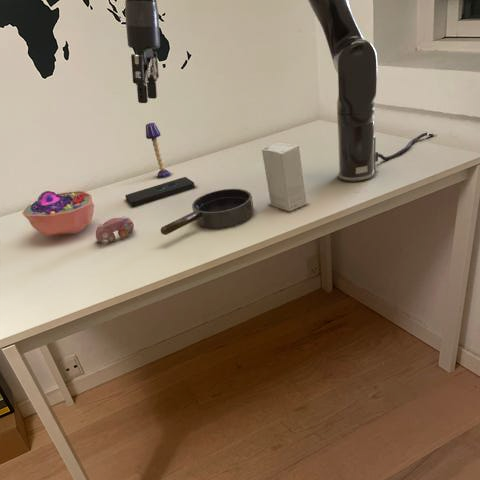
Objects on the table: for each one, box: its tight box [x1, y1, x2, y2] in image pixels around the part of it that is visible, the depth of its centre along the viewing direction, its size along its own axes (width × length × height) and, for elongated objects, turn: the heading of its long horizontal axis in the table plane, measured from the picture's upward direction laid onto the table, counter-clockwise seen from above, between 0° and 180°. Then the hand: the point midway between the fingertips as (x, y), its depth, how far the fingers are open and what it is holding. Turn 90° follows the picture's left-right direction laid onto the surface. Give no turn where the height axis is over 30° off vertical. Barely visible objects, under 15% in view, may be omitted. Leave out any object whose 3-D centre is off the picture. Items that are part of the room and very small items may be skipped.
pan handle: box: [160, 211, 202, 236], centre depth 114 cm, size 12×2×2 cm, turn 133°
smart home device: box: [124, 176, 196, 208], centre depth 145 cm, size 8×2×20 cm
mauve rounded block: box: [95, 215, 135, 243], centre depth 120 cm, size 10×5×7 cm, turn 117°
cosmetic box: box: [261, 142, 307, 212], centre depth 119 cm, size 8×6×15 cm
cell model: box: [21, 190, 95, 236], centre depth 128 cm, size 17×20×11 cm
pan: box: [191, 188, 255, 230], centre depth 122 cm, size 15×15×4 cm
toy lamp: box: [145, 122, 171, 179], centre depth 155 cm, size 5×5×17 cm
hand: (147, 100), depth 120 cm, fingers open, 8 cm apart
